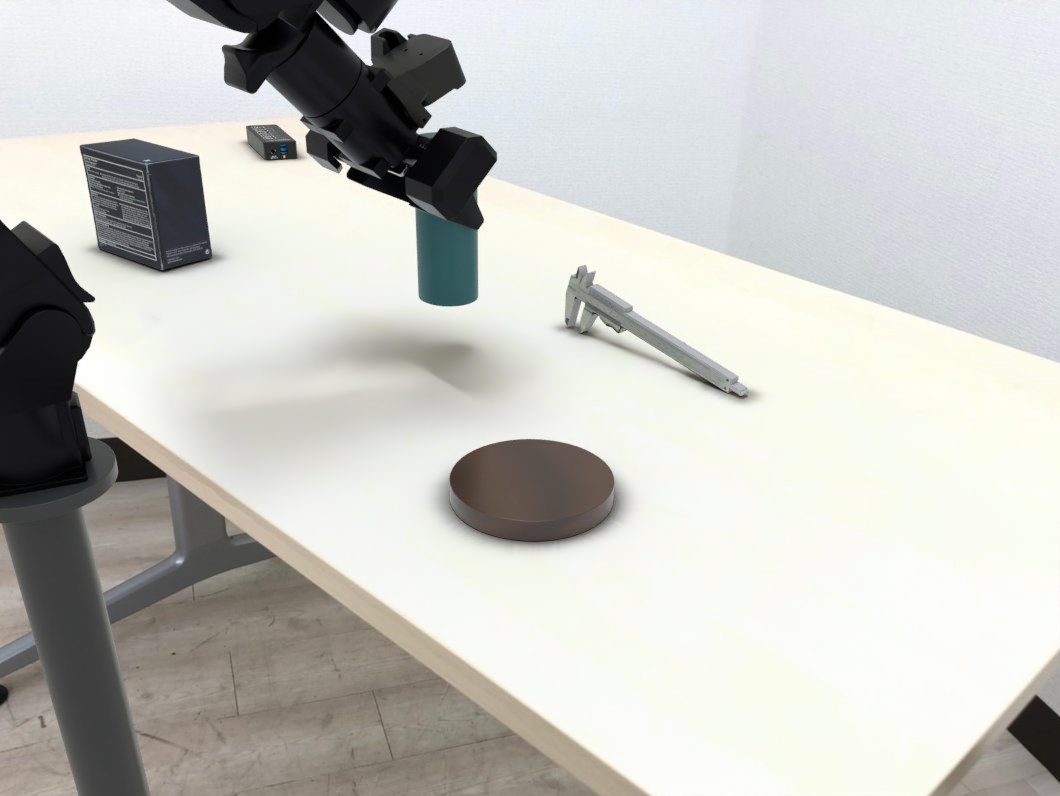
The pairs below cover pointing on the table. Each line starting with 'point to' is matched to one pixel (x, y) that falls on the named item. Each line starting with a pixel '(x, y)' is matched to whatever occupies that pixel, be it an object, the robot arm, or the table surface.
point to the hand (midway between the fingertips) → (460, 217)
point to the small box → (147, 202)
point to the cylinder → (446, 259)
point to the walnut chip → (531, 489)
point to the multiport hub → (271, 142)
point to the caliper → (639, 329)
